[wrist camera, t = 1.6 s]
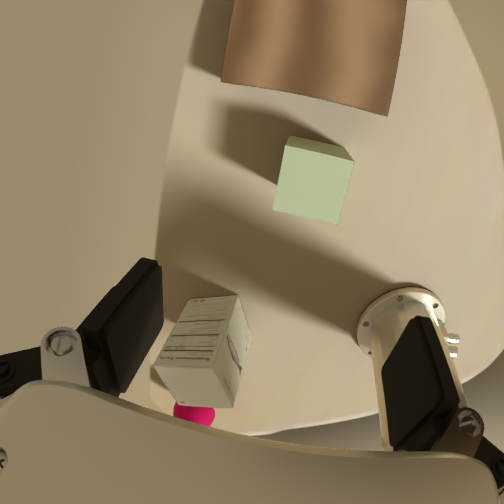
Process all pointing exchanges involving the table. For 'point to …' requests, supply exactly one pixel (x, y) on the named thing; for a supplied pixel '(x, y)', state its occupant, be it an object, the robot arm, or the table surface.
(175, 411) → the pepper mill
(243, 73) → the walnut riser block
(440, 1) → the table surface
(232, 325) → the supplement box
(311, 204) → the sage block
